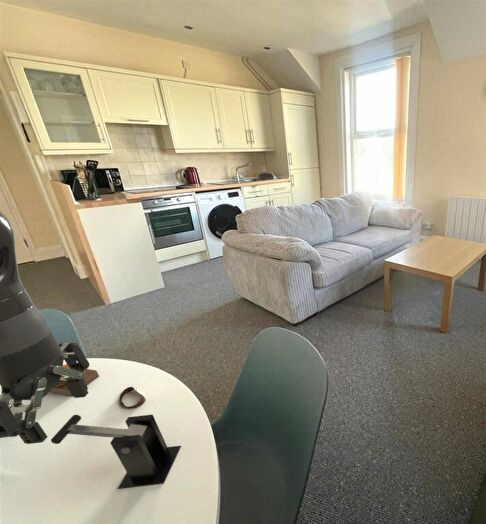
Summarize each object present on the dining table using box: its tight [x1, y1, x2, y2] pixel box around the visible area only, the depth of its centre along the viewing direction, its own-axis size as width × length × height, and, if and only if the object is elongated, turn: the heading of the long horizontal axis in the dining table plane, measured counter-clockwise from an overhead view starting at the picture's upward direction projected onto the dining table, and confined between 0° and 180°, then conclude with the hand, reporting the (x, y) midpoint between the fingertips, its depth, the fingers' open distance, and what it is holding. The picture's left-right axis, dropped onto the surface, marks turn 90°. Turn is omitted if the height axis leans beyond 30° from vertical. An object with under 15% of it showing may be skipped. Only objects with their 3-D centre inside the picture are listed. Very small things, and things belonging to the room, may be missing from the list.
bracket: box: [110, 414, 182, 490], centre depth 53 cm, size 8×7×12 cm
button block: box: [49, 368, 100, 398], centre depth 76 cm, size 10×7×4 cm
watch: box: [118, 386, 146, 410], centre depth 70 cm, size 8×5×4 cm, turn 58°
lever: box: [50, 414, 147, 445], centre depth 51 cm, size 13×4×2 cm, turn 96°
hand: (61, 416), depth 48 cm, fingers open, 8 cm apart
